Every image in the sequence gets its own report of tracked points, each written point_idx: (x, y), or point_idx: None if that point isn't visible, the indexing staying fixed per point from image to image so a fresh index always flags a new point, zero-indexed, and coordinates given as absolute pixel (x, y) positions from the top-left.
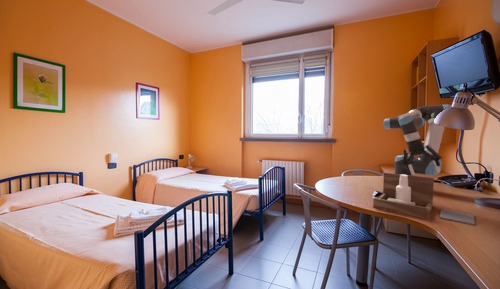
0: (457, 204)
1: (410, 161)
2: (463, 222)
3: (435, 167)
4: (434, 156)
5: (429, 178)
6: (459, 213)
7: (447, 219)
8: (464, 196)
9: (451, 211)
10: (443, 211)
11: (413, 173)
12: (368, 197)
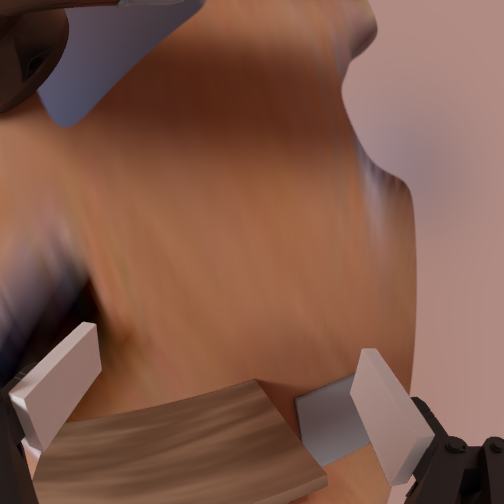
0: (322, 250)
1: (13, 449)
2: (357, 448)
3: (366, 429)
4: (456, 492)
5: (304, 492)
6: (347, 394)
7: (324, 463)
8: (306, 58)
9: (327, 398)
10: (307, 421)
11: (94, 357)
12: (30, 466)
